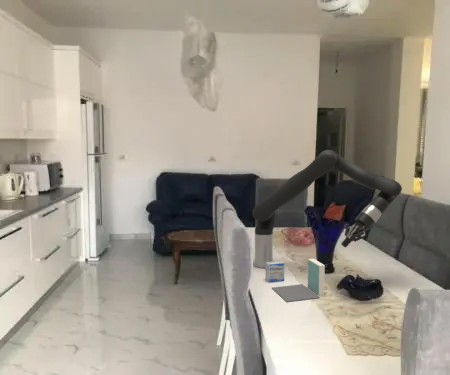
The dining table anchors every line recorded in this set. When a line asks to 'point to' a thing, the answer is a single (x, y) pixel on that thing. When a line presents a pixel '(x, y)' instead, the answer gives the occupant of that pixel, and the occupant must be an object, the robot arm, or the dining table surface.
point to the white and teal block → (316, 276)
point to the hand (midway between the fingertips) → (343, 245)
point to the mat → (295, 293)
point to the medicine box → (274, 271)
